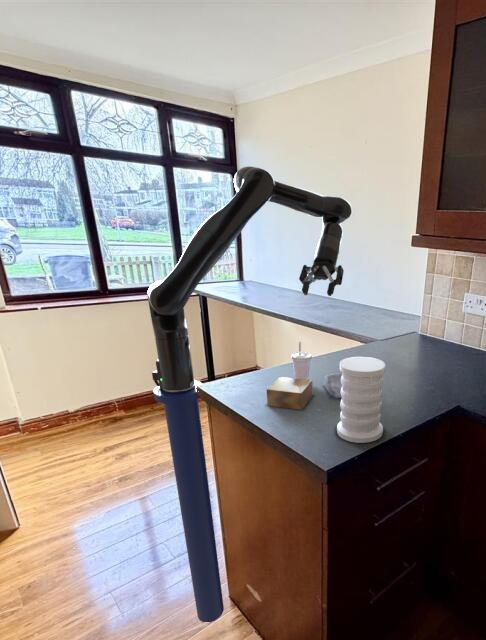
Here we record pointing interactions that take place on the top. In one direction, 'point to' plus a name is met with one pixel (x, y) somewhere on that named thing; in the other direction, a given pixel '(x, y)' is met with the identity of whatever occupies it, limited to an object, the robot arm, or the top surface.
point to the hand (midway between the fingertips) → (316, 294)
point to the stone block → (333, 385)
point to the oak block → (289, 393)
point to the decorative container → (361, 399)
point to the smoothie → (301, 364)
